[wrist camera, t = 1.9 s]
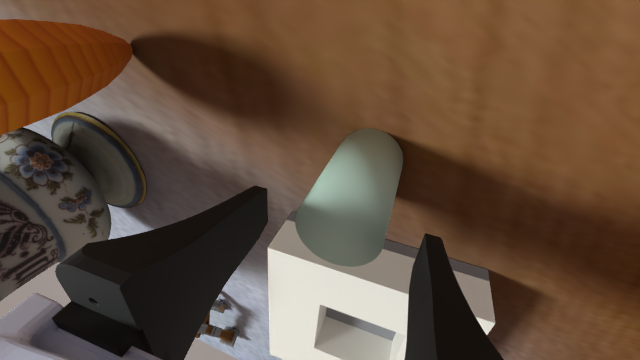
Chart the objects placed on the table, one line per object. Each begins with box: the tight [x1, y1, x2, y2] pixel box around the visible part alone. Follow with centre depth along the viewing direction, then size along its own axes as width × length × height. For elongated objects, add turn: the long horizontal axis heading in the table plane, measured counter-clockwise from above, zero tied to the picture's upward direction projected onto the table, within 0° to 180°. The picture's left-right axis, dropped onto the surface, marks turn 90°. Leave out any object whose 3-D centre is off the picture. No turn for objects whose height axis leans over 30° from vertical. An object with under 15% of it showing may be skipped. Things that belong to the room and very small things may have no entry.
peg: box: [295, 128, 403, 267], centre depth 16 cm, size 4×4×7 cm
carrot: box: [0, 19, 133, 135], centre depth 14 cm, size 5×5×15 cm
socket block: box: [268, 212, 495, 360], centre depth 24 cm, size 14×14×4 cm
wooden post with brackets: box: [196, 300, 239, 347], centre depth 34 cm, size 2×8×4 cm, turn 6°
